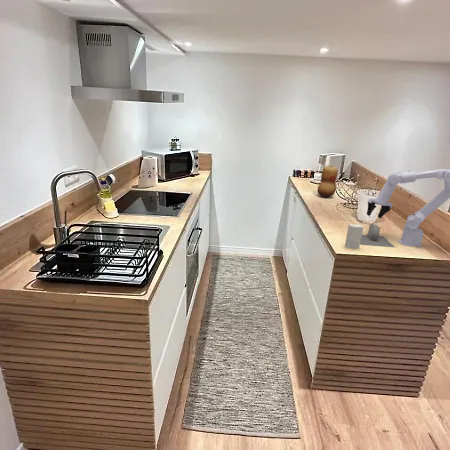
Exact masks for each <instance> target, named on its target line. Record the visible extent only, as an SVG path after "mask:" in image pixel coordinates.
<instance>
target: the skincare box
mask: <svg viewBox="0 0 450 450" xmlns="http://www.w3.org/2000/svg"><path fill="white" fill-rule="evenodd" d="M347 226H348V227H347V233H346V238H345V242H344V243H345V244H344V246H345V247H346V248H347V249H353V250H356V249H360V247H361V244H360V242H361V237H362V235H363V230H364V226H362V225H361V224H353V223H352V224H348V225H347Z"/></svg>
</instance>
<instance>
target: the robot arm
mask: <svg viewBox="0 0 450 450" xmlns="http://www.w3.org/2000/svg"><path fill="white" fill-rule="evenodd" d="M430 178H431V179H432V178H436V179H438V180H442V179H443V182H444V189H443V190H442V191H440V192H439V193H438V194H437V195H436V196H435V197H433V198H431V200H430V201H428V203H426V204H425V205H424V206H422V207H421V208H420V209H419V210H417V211H415V212H414V213H413V214H409V215H408V216H407V218H406V221H405V225H404V226H403V229H402V234H401V238H400V239H397V241H398V242H399V243H400V244H401V245H402V246H406V247H407V246H409V247H417V248H421V247H422V243H423V242H422V241H423V237H424V231H423V229H421V228H419V227H420V225H421V223H423V222H424V220H426V218H427V217H429V216H430V215H431V214H432V213H433V212H434V211H436V210H437V209H439V208H440V207H441V206H442V205H443V204H444V203H445V202H447V201H448V200H449V199H450V168H447V169H446V168H438V169H432V170H427V171H421V172H416V171H414V170H411V169H409V170H407V171H403V172H400V171H398V172H392V173H391V174H389V175H388V176H387V181H386V182H385V183H384V185H383V186H382V188H381V191H380V192H379V194H378V196H377V198H370V197H369V199H368V201H367V210H366V215H367V216H368V217H370V216H371V215H372V212H374V210H375V208H377V205H378V206H381V207H380V211H379V212H378V215H377V218H379V219H381V218H383V216H384V215H385V214H387V213H388V212H390V211H391V210H392V208H393V206H394V204H393V203H392V202H389V201H390V199H391V197H392V195H393V193H394V192H395V188H397V185H398V184H402V185H403V184H409V183H415V182H416V181H417V180H421V179H423V180H424V179H430Z"/></svg>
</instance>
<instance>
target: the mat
mask: <svg viewBox="0 0 450 450" xmlns="http://www.w3.org/2000/svg"><path fill="white" fill-rule="evenodd" d="M367 235H368V234H362V237H361V242H360V246H370V247H371V246H372V247H384V248H396V247H395V245H394V244H392V242H390V241H389V240H388V239H387V238H386V237H385V236H382V235H379V237H378V241H372V240H370V239H369V238H368V237H367Z"/></svg>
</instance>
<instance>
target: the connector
mask: <svg viewBox="0 0 450 450" xmlns="http://www.w3.org/2000/svg"><path fill="white" fill-rule="evenodd" d="M368 227H369V228H368V231H367V234H366V235H367V237H368V238H369V239H370V240H372V241H378V237H379V236H380V231H381V227H379V226H378V224H377V222H373V223H371V224H369V226H368Z"/></svg>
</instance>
